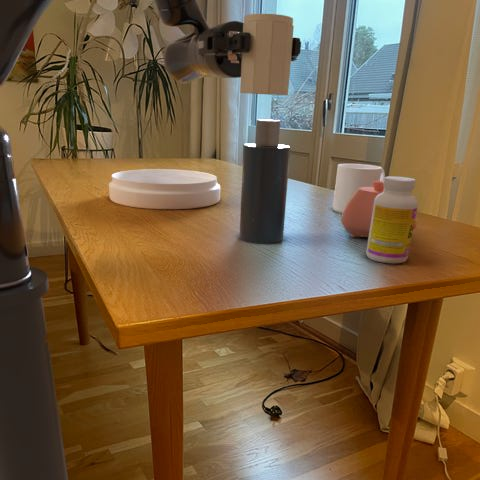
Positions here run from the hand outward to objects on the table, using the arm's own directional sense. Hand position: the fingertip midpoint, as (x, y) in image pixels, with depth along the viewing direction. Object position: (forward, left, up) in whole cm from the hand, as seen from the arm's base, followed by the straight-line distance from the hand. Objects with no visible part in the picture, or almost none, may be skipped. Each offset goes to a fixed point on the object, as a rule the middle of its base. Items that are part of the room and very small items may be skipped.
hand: (273, 44), depth 62 cm
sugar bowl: (+27, +13, -30) cm, 42 cm away
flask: (+4, +14, -29) cm, 33 cm away
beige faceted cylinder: (0, +2, -6) cm, 6 cm away
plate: (-9, +53, -30) cm, 61 cm away
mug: (+35, +36, -30) cm, 59 cm away
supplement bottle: (+21, -1, -30) cm, 37 cm away
